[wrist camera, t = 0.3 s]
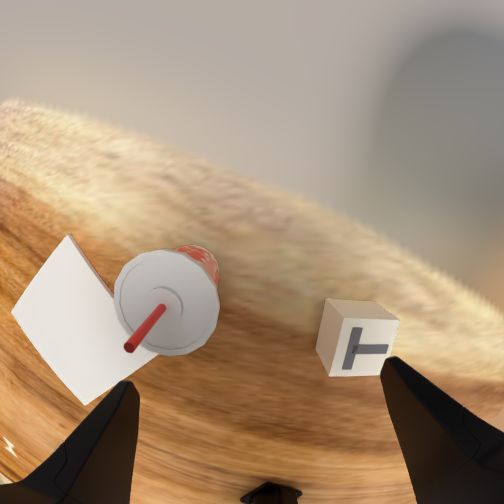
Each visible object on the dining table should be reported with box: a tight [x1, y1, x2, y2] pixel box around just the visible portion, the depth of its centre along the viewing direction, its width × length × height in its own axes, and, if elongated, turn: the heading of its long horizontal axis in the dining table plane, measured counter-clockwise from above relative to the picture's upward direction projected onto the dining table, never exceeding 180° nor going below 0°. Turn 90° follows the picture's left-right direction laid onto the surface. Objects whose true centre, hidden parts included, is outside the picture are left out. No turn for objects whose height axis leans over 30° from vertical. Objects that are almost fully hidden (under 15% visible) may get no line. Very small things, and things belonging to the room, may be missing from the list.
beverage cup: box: [113, 245, 220, 356], centre depth 16 cm, size 6×6×14 cm
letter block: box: [315, 298, 400, 376], centre depth 22 cm, size 5×5×5 cm
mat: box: [12, 234, 158, 405], centre depth 24 cm, size 14×14×1 cm
